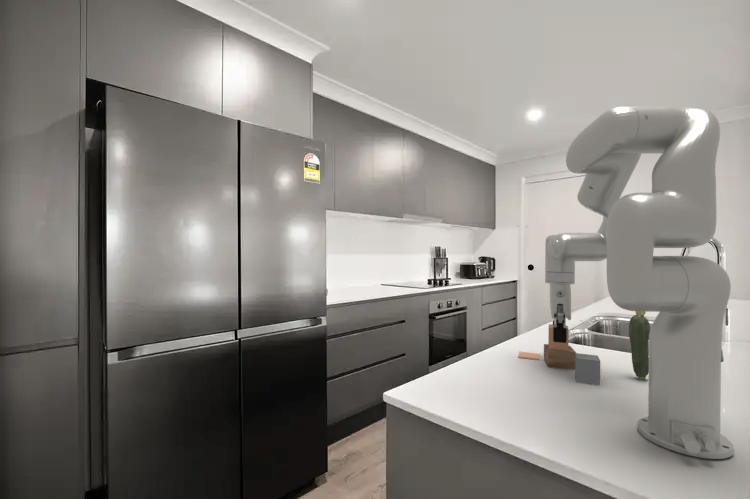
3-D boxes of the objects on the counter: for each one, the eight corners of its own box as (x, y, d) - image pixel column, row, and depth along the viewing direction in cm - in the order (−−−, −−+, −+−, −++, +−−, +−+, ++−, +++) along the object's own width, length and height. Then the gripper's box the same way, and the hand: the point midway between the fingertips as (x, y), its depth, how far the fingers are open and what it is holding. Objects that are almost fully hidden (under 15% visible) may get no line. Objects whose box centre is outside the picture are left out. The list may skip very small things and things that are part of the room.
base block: (575, 370, 100) (575, 352, 100) (547, 368, 102) (547, 350, 102) (569, 362, 107) (569, 345, 107) (543, 360, 109) (543, 343, 109)
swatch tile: (539, 360, 108) (539, 359, 108) (518, 357, 111) (518, 356, 111) (540, 355, 114) (540, 353, 114) (519, 352, 116) (519, 351, 116)
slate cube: (600, 385, 89) (600, 360, 89) (576, 382, 91) (576, 358, 91) (597, 379, 93) (597, 355, 93) (575, 376, 95) (575, 353, 95)
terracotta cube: (568, 350, 101) (568, 329, 101) (548, 348, 104) (548, 327, 104) (567, 346, 106) (567, 325, 106) (548, 344, 108) (548, 324, 108)
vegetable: (649, 383, 90) (649, 302, 90) (627, 379, 93) (628, 300, 93) (649, 378, 94) (650, 300, 94) (628, 374, 96) (629, 298, 96)
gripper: (577, 281, 95) (576, 347, 95) (572, 276, 111) (572, 333, 111) (545, 279, 98) (544, 343, 98) (545, 275, 114) (544, 331, 114)
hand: (559, 338), depth 105 cm, fingers open, 9 cm apart
